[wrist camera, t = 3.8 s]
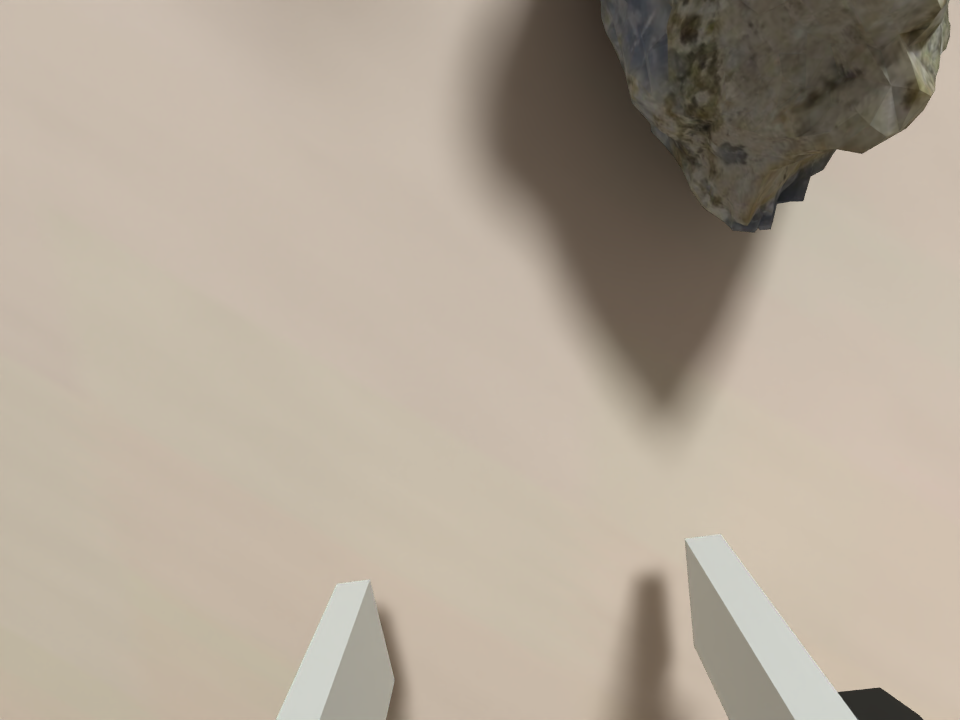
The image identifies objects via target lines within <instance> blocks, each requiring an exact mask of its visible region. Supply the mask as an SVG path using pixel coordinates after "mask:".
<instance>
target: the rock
mask: <svg viewBox="0 0 960 720" xmlns="http://www.w3.org/2000/svg"><path fill="white" fill-rule="evenodd" d="M600 2H601V18H602V21H603V25H604V28H605V31H606V34H607V36H608V37H609V39H610V41H611V43H612V45H613V47H614V49H615V52H616V54H617V56H618V58H619V60H620V63H621V66H622V68H623V70H624V72H625V75H626V80H627V84H628V88H629V93H630V96H631V100H632V104H633V105H634V106H635V107H636V108H637V109H638V110H639V111H640V112H641V113H642V114H643V115H644V116H645V117H646V119H647V120H648V121H649V123H650V124H651V132H652V133H653V134H654V135H655V136H656V137H657V138H658V139H659V140H660V141H661V142H662V143H663V144H664V145H665V147H666V148H667V149H668V150H669V151H670V152H671V154H672V155H673V156H674V157H675V159H676V160H677V162H678V164H679V165H680V167H681V169H682V170H683V172H684V174H685V177H686V179H687V181H688V184H689V186H690V188H691V191H692V192H693V194H694V195H695V197H696V198H697V199H698V201H699V202H700V204H701V205H702V206H703V208H704V209H706V210H707V211H709V212H710V213H712V214H713V215H715V216H716V217H718V218H719V219H721V220H722V221H723V222H725V223H726V224H727V225H728V226H729V227H730V228H731V229H732V230H734V231H745V232H755V231H756V230H757V228H759V229H760V230H768V229H771V226H772V222H773V218H774V214H775V210H776V205H777V204H778V203H785V202H790V201H803V200H804V196H805V193H806V190H807V187H808V183H809V180H810V177H811V176H812V175H814V174H816V173H818V172H820V171H822V170H823V169H824V168H825V166H826V165H827V163H828V161H829V160H830V158H831V157H832V155H833V153H834V152H835V150H836V149H839V150H844V151H850V152H855V153H861V154H862V153H864V152H866V151H867V150H869V149H871V148H873V147H874V146H876V145H878V144H880V143H881V142H883V141H885V140H887V139H888V138H890V137H892V136H894V135H895V134H897V133H899V132H901V131H902V130H904V129H906V128H907V127H908V126H909V125H910V124H911V123H912V122H913V121H914V120H915V118H916V117H917V116H918V115H919V114H920V113H921V112H922V111H923V110H924V108H925V107H926V105H927V103H928V101H929V100H930V98H931V96H932V94H933V93H934V91H935V81H936V75H937V72H938V69H939V63H940V55H941V53H942V52H943V51H944V50H945V49H946V47H947V44H948V40H949V37H950V23H949V20H948V3H949V0H600Z"/></svg>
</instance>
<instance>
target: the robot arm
mask: <svg viewBox="0 0 960 720" xmlns="http://www.w3.org/2000/svg"><path fill="white" fill-rule="evenodd" d="M685 548H686V560H687V572H688V583H689V595H690V606H691V618H692V629H693V641H694V647H695V649H696V651H697V653H698V655H699V657H700V659H701V662H702V664H703V666H704V668H705V670H706V672H707V674H708V676H709V678H710V680H711V683H712V685H713V687H714V689H715V691H716V693H717V695H718V697H719V699H720V701H721V704H722V706H723V708H724V710H725V712H726V714H727V716H728V718H729V720H923V719H922V718H921V717H920V716H919V715H918V714H917V713H915V712H914V711H912V710H911V709H910V708H908V707H907V706H905V705H904V704H902V703H901V702H900V701H898V700H897V699H895V698H894V697H893V696H891V695H890V694H888V693H887V692H886V691H884V690H883V689H881V688H872V689H863V690H853V691H844V692H837V691H836V690H835V688H834V687H833V686H832V684H831V683H830V682H829V680H828V679H827V678H826V676H825V675H824V673H823V672H822V671H821V669H820V668H819V667H818V665H817V664H816V663H815V661H814V660H813V659H812V657H811V656H810V654H809V653H808V652H807V650H806V649H805V648H804V646H803V645H802V644H801V642H800V641H799V640H798V638H797V637H796V635H795V634H794V633H793V631H792V630H791V629H790V627H789V626H788V625H787V623H786V622H785V621H784V619H783V618H782V616H781V615H780V614H779V612H778V611H777V610H776V608H775V607H774V606H773V604H772V603H771V602H770V600H769V599H768V597H767V596H766V595H765V593H764V592H763V591H762V589H761V588H760V587H759V585H758V584H757V583H756V581H755V580H754V579H753V577H752V576H751V574H750V573H749V572H748V570H747V569H746V568H745V566H744V565H743V564H742V562H741V561H740V560H739V558H738V557H737V555H736V554H735V553H734V551H733V550H732V549H731V547H730V546H729V545H728V543H727V542H726V541H725V539H724V538H723V536H722V535H721V534H718V535H710V536H702V537H694V538H687V539H685ZM394 681H395V679H394V675H393V671H392V667H391V663H390V659H389V655H388V651H387V647H386V643H385V639H384V635H383V631H382V626H381V622H380V618H379V614H378V610H377V606H376V602H375V598H374V594H373V590H372V586H371V582H370V580H362V581H355V582H347V583H339V584H337V585H336V587H335V589H334V591H333V594H332V596H331V598H330V600H329V603H328V605H327V607H326V609H325V611H324V614H323V616H322V618H321V620H320V623H319V625H318V627H317V629H316V632H315V634H314V636H313V638H312V641H311V643H310V645H309V647H308V649H307V652H306V654H305V656H304V658H303V661H302V663H301V665H300V667H299V670H298V672H297V674H296V676H295V678H294V681H293V683H292V685H291V687H290V690H289V692H288V694H287V696H286V699H285V701H284V703H283V705H282V708H281V710H280V712H279V714H278V716H277V719H276V720H386V717H387V713H388V708H389V704H390V699H391V695H392V690H393V686H394Z"/></svg>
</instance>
